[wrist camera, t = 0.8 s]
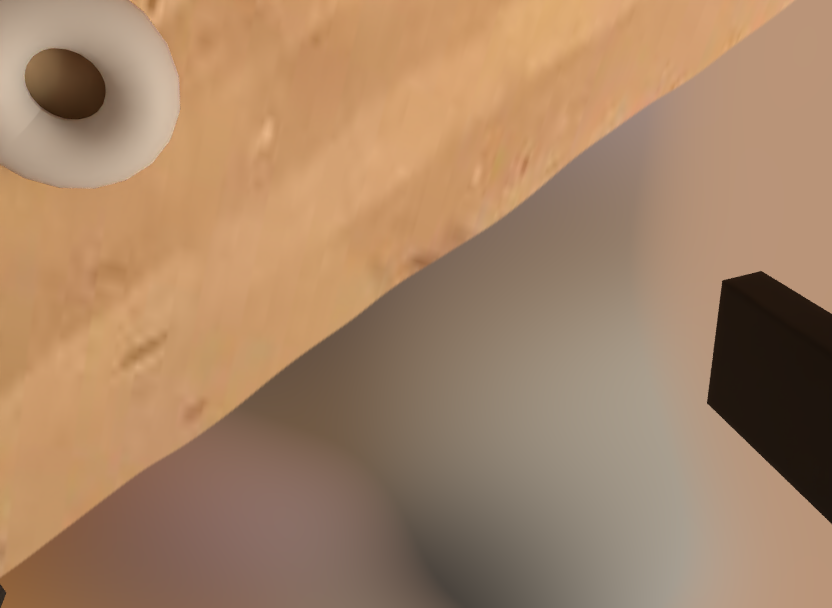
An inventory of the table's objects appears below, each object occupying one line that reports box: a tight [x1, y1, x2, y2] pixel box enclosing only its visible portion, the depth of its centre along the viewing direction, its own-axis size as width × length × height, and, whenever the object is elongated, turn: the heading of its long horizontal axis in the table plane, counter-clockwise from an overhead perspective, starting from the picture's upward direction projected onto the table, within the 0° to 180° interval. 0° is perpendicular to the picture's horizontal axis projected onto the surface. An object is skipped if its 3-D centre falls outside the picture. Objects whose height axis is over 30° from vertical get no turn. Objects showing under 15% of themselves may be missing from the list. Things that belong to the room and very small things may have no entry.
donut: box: [0, 0, 180, 189], centre depth 30 cm, size 10×4×10 cm
